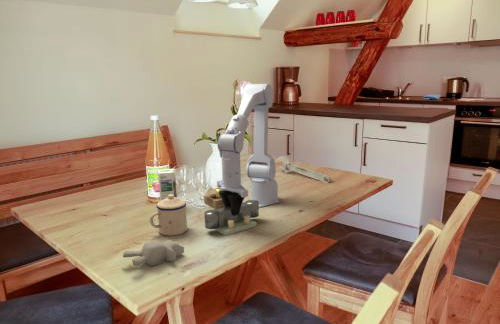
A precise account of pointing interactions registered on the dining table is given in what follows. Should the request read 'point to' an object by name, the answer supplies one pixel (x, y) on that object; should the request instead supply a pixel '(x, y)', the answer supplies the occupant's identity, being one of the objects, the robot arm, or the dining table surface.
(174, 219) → the teacup with lid
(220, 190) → the pin
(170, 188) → the syrup box
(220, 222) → the ball-knob grey rod
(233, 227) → the rack
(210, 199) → the slot block
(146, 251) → the bunny figurine
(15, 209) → the dining table surface
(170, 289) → the dining table surface
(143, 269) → the dining table surface
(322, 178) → the wrench
